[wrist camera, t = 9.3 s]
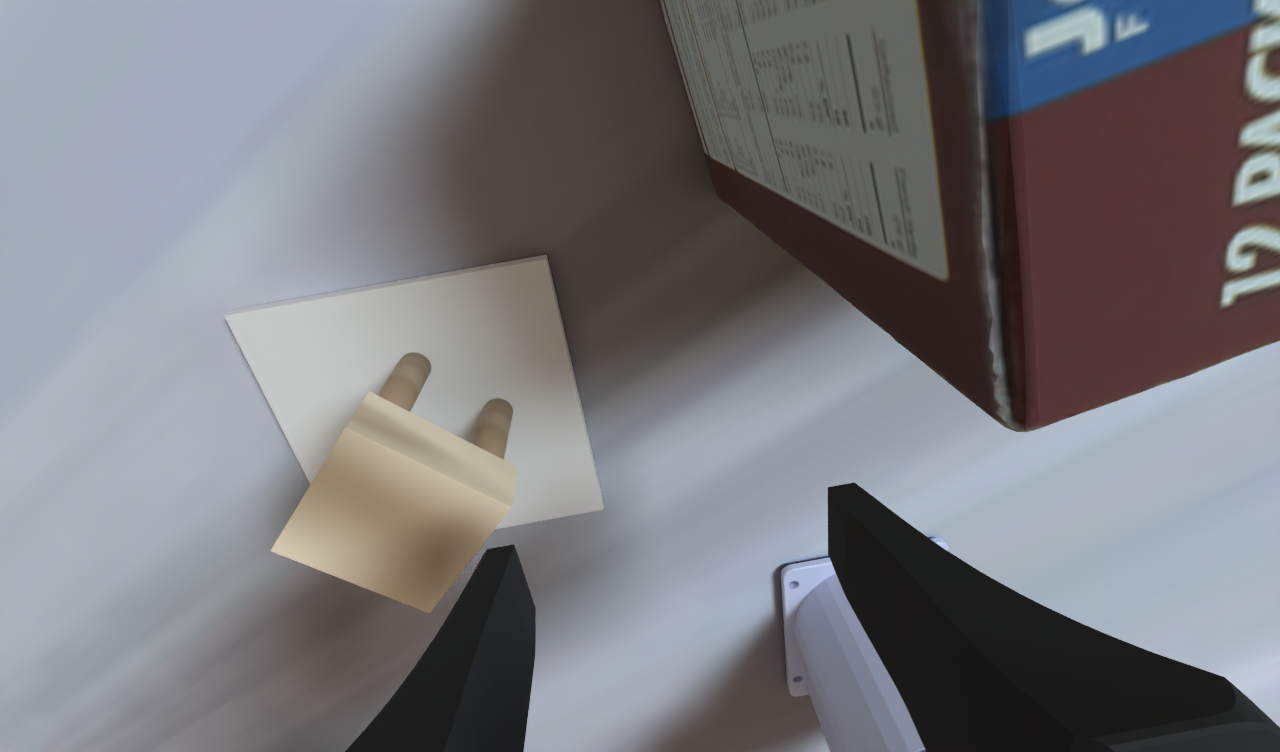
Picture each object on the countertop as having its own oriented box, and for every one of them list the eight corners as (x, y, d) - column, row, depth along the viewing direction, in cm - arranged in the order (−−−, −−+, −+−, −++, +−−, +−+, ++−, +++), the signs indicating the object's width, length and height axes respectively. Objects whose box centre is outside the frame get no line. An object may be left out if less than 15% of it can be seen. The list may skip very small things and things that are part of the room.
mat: (603, 500, 26) (603, 509, 25) (351, 546, 26) (347, 556, 25) (546, 254, 21) (545, 259, 20) (233, 309, 20) (223, 315, 20)
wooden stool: (462, 495, 24) (429, 613, 19) (343, 438, 22) (270, 550, 17) (527, 405, 23) (511, 507, 17) (405, 337, 21) (345, 426, 16)
